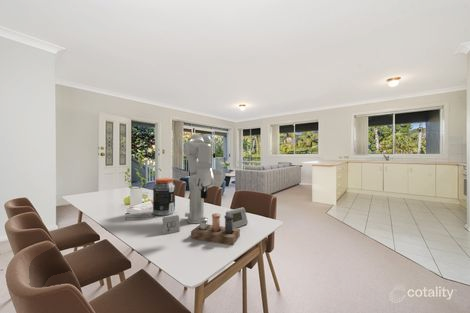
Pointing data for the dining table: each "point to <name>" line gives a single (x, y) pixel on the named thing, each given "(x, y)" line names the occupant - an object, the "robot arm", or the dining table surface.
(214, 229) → the terracotta peg
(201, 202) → the robot arm
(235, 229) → the walnut block
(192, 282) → the dining table surface
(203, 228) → the grey peg
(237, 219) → the digital clock
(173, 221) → the electrical switch
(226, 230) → the charcoal peg
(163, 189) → the supplement tub
